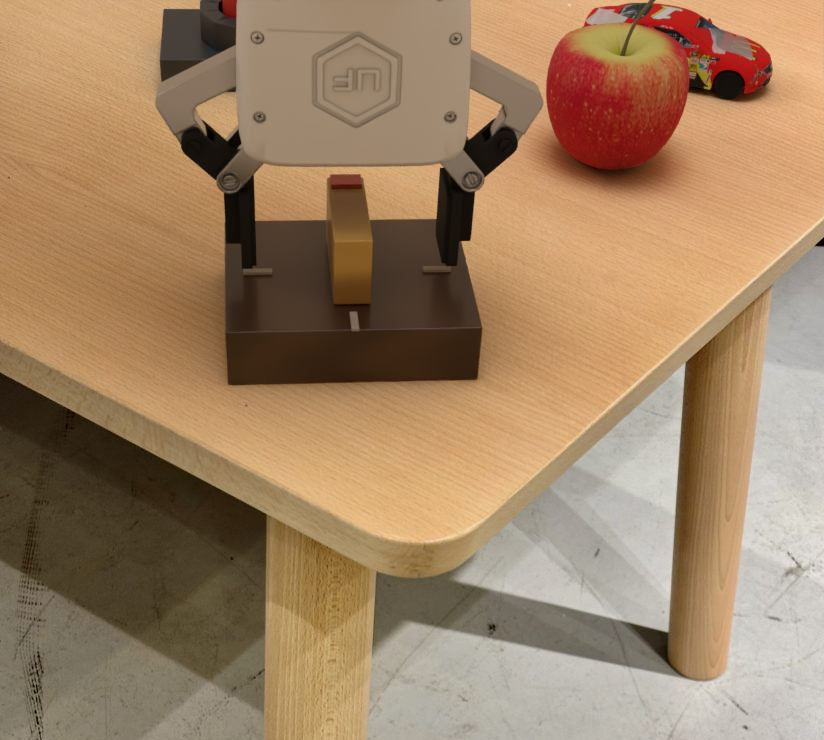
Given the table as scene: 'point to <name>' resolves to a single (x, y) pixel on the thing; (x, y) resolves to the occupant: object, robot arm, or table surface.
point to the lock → (349, 239)
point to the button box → (194, 37)
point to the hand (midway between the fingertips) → (348, 252)
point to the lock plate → (349, 309)
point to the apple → (616, 92)
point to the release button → (230, 8)
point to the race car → (700, 46)
